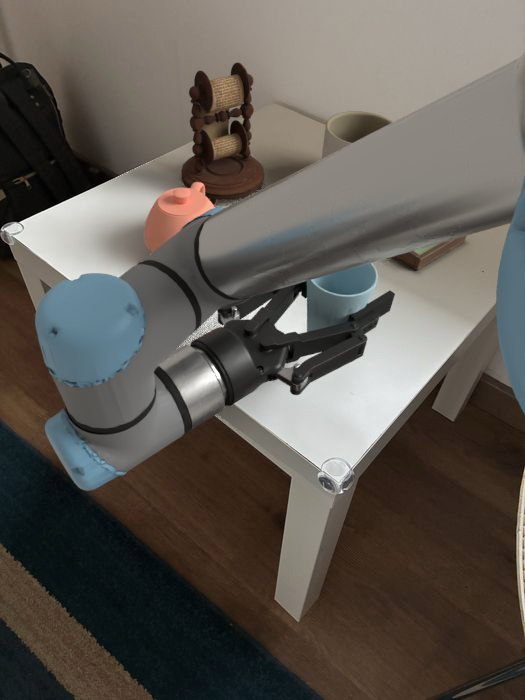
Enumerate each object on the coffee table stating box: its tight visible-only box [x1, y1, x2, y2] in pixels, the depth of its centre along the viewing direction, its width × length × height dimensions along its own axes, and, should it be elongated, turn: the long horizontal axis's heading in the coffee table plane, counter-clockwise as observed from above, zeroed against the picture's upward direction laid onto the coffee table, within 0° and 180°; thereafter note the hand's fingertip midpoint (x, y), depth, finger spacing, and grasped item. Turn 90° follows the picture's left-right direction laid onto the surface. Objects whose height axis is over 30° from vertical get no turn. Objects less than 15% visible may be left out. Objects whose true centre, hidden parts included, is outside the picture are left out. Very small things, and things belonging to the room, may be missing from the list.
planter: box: [321, 110, 394, 159], centre depth 95 cm, size 12×12×11 cm
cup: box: [306, 262, 379, 332], centre depth 62 cm, size 8×8×10 cm
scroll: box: [180, 62, 265, 206], centre depth 90 cm, size 15×15×20 cm
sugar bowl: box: [143, 182, 216, 254], centre depth 82 cm, size 12×14×10 cm
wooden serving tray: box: [395, 236, 467, 272], centre depth 88 cm, size 12×12×2 cm
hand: (366, 283), depth 64 cm, fingers closed on cup, 7 cm apart
